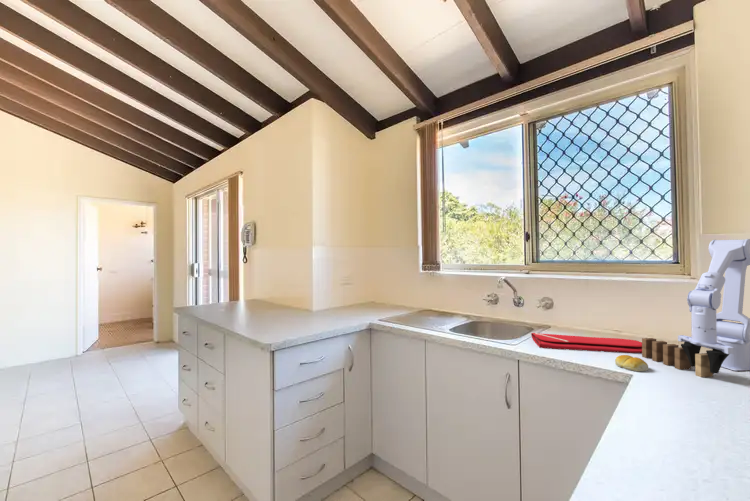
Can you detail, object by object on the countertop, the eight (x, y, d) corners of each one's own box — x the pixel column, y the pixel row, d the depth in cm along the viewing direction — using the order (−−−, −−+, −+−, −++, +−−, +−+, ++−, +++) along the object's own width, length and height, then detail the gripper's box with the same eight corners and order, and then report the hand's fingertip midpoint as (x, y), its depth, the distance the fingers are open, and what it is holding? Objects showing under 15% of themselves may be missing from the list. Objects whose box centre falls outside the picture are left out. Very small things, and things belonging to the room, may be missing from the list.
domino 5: (707, 374, 106) (706, 353, 106) (712, 376, 104) (712, 354, 104) (695, 375, 105) (695, 353, 105) (701, 377, 104) (700, 355, 104)
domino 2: (662, 359, 120) (662, 340, 120) (667, 361, 119) (667, 342, 119) (652, 360, 120) (652, 341, 120) (656, 361, 118) (656, 342, 118)
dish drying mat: (654, 355, 126) (654, 346, 126) (539, 349, 136) (539, 340, 136) (632, 344, 142) (632, 335, 142) (530, 339, 151) (530, 331, 151)
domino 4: (685, 367, 112) (685, 347, 112) (690, 369, 111) (690, 348, 111) (674, 368, 112) (674, 347, 112) (679, 369, 110) (679, 349, 110)
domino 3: (674, 363, 116) (673, 343, 116) (678, 364, 115) (678, 345, 115) (663, 364, 116) (662, 344, 116) (667, 365, 114) (667, 345, 114)
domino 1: (652, 356, 124) (652, 337, 124) (656, 357, 123) (656, 339, 123) (642, 356, 124) (641, 338, 124) (646, 358, 122) (645, 339, 122)
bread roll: (626, 362, 119) (626, 351, 119) (652, 371, 110) (652, 359, 110) (608, 364, 117) (608, 353, 117) (633, 373, 108) (633, 361, 108)
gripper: (669, 322, 112) (670, 362, 112) (719, 333, 97) (719, 378, 97) (687, 322, 113) (688, 361, 113) (739, 332, 98) (739, 377, 98)
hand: (704, 369), depth 105 cm, fingers open, 5 cm apart
